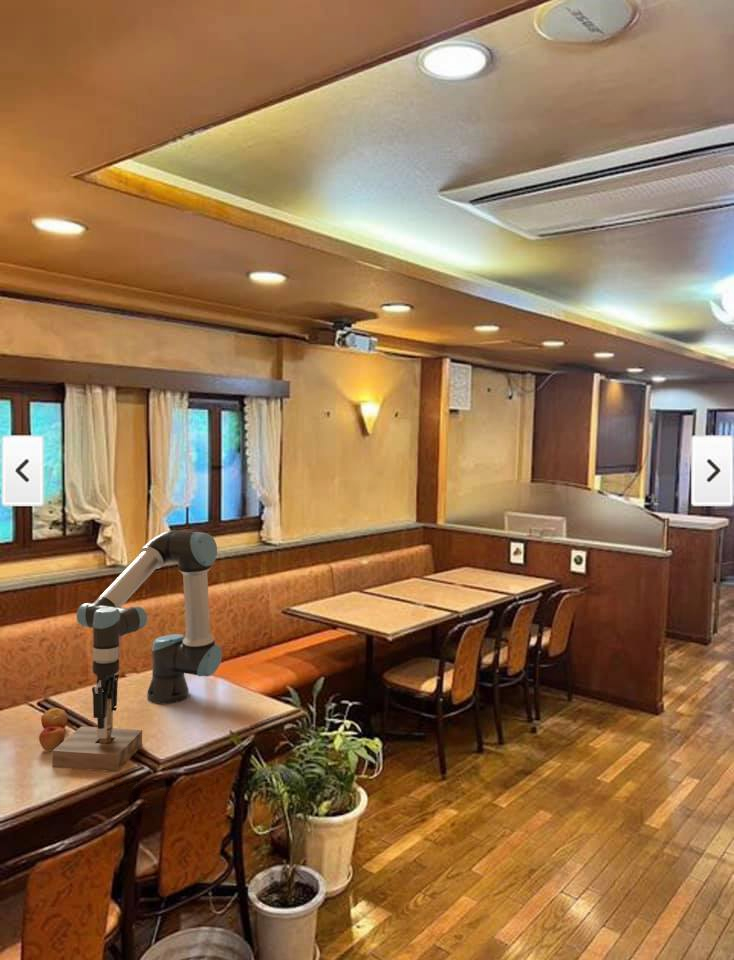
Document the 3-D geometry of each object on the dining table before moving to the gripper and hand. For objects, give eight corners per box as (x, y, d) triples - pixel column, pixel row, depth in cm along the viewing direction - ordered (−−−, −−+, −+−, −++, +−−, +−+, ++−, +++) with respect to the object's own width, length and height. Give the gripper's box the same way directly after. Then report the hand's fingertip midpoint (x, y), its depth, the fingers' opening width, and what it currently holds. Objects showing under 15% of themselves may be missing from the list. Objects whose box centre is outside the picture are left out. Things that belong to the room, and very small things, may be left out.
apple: (63, 753, 216) (63, 728, 216) (37, 756, 214) (37, 730, 214) (66, 743, 223) (66, 719, 223) (41, 746, 221) (41, 721, 221)
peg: (102, 742, 217) (102, 697, 216) (113, 742, 217) (113, 698, 216) (96, 746, 214) (97, 701, 213) (108, 747, 213) (108, 702, 213)
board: (81, 741, 225) (81, 726, 225) (142, 745, 224) (142, 729, 224) (52, 767, 207) (52, 750, 207) (117, 771, 206) (117, 755, 206)
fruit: (59, 717, 240) (64, 701, 237) (67, 735, 236) (72, 719, 232) (34, 723, 235) (39, 707, 231) (42, 742, 230) (47, 725, 227)
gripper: (106, 651, 222) (105, 723, 224) (81, 667, 206) (80, 745, 207) (129, 652, 222) (128, 725, 223) (105, 668, 205) (104, 747, 206)
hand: (105, 734), depth 215 cm, fingers closed on peg, 3 cm apart
